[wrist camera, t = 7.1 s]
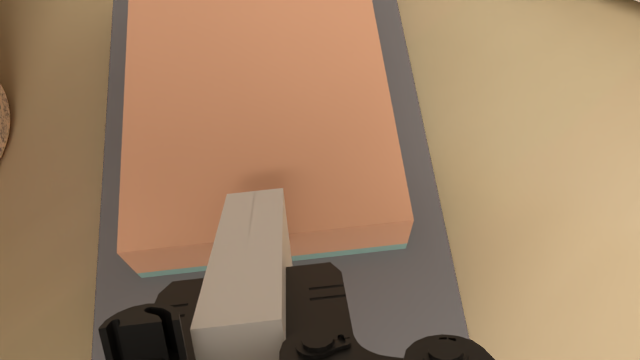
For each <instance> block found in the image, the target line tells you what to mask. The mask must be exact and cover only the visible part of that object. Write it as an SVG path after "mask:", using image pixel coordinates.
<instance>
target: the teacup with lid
mask: <svg viewBox="0 0 640 360" xmlns="http://www.w3.org/2000/svg"><path fill="white" fill-rule="evenodd" d="M9 129H10V110H9V104H8V100H7V97H6V94H5V91H4V89H3V88H2V86H1V84H0V159H1V156H2V154H3V152H4V149H5V146H6V143H7V139H8V136H9Z"/></svg>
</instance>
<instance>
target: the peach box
mask: <svg viewBox="0 0 640 360" xmlns="http://www.w3.org/2000/svg"><path fill="white" fill-rule="evenodd" d="M277 188H283V192H284V200H285V208H286V216H287V225H288V233H289V241H290V249H291V257H292V261H298V260H307V259H316V258H325V257H334V256H343V255H352V254H361V253H370V252H379V251H388V250H397V249H406V246H407V243H408V239H409V236H410V232H411V229H412V225H413V222H414V218H413V213H412V207H411V202H410V197H409V192H408V187H407V181H406V176H405V171H404V166H403V160H402V155H401V150H400V145H399V139H398V134H397V129H396V124H395V118H394V113H393V108H392V103H391V97H390V92H389V87H388V82H387V76H386V71H385V66H384V61H383V55H382V50H381V45H380V40H379V35H378V29H377V24H376V19H375V14H374V8H373V3H372V0H128V20H127V41H126V63H125V85H124V106H123V128H122V150H121V171H120V193H119V215H118V236H117V254H118V255H119V256H120V257H121V258H122V259H123V260H124V261H125V262H126V263H127V264H128V265H129V266H130V267H131V268H132V269H133V270H134V271H135V272H136V273H137V274H138V275H139V276H140V277H141V278H146V277H155V276H164V275H173V274H181V273H190V272H199V271H206V269H207V265H208V262H209V258H210V254H211V251H212V247H213V243H214V240H215V236H216V232H217V229H218V225H219V221H220V218H221V214H222V210H223V207H224V203H225V199H226V196H227V194H232V193H241V192H250V191H259V190H268V189H277Z"/></svg>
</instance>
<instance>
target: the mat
mask: <svg viewBox="0 0 640 360" xmlns="http://www.w3.org/2000/svg"><path fill="white" fill-rule="evenodd" d="M372 3H373V8H374V14H375V19H376V24H377V29H378V35H379V40H380V45H381V50H382V55H383V61H384V66H385V71H386V76H387V82H388V87H389V92H390V97H391V103H392V108H393V113H394V118H395V124H396V129H397V134H398V139H399V145H400V150H401V155H402V160H403V166H404V171H405V176H406V181H407V187H408V192H409V197H410V202H411V207H412V213H413V218H414V222H413V225H412V229H411V232H410V236H409V239H408V243H407V246H406V249H397V250H388V251H379V252H370V253H361V254H352V255H343V256H334V257H325V258H316V259H307V260H298V261H292V265H293V266H299V265H308V264H317V263H326V262H331V263H332V264H333V265H334V266H335V267H337V268H338V269H339V270H340V271H341V272H342V277H343V282H344V288H345V293H346V298H347V303H348V308H349V314H350V319H351V324H352V329H353V334H354V337H355V339H356V340H357V342H358V343H359V344H360V345H361V346H362V347H364V348H365V349H367V350H369V351H371V352H373V353H376V354H379V355H384V356H390V357H399V358H404V355H405V351H406V349H407V348H408V347H409V346H410V345H411V344H412V343H413V342H415V341H417V340H420V339H422V338H424V337H427V336H433V335H441V334H444V335H456V336H460V337H464V338H467V339H469V335H468V330H467V325H466V321H465V316H464V311H463V307H462V302H461V297H460V293H459V288H458V283H457V279H456V274H455V269H454V265H453V260H452V255H451V251H450V246H449V242H448V237H447V232H446V228H445V223H444V218H443V214H442V209H441V204H440V200H439V195H438V190H437V186H436V181H435V176H434V172H433V167H432V162H431V158H430V153H429V148H428V144H427V139H426V134H425V130H424V125H423V121H422V116H421V111H420V107H419V102H418V97H417V93H416V88H415V83H414V79H413V74H412V69H411V65H410V60H409V55H408V51H407V46H406V41H405V37H404V32H403V27H402V23H401V18H400V13H399V9H398V4H397V0H372ZM127 20H128V0H113V14H112V31H111V47H110V64H109V80H108V96H107V113H106V129H105V146H104V162H103V179H102V195H101V212H100V228H99V244H98V261H97V277H96V294H95V310H94V327H93V343H92V359H91V360H106V359H105V355H104V351H103V347H102V343H101V339H100V335H99V331H98V328H99V327H100V326H101V325H102V324H103V322H104V321H105V320H106V319H108V318H110V317H111V316H113V315H114V314H116V313H117V312H120V311H122V310H125V309H127V308H130V307H133V306H138V305H143V304H147V303H155V301H156V298H157V296H158V294H159V293H160V292H161V291H162V290H163V289H164V288H166V287H167V286H168V285H169V284H170V283H171V282H172V281H180V280H189V279H198V278H204V276H205V273H206V271H199V272H190V273H181V274H173V275H164V276H155V277H146V278H141V277H140V276H139V275H138V274H137V273H136V272H135V271H134V270H133V269H132V268H131V267H130V266H129V265H128V264H127V263H126V262H125V261H124V260H123V259H122V258H121V257H120V256H119V255H118V254H117V236H118V215H119V193H120V171H121V150H122V128H123V106H124V85H125V63H126V41H127Z"/></svg>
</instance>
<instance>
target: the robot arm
mask: <svg viewBox="0 0 640 360" xmlns="http://www.w3.org/2000/svg"><path fill="white" fill-rule="evenodd" d="M98 331H99V335H100V339H101V343H102V347H103V351H104V355H105V359H106V360H495V359H494V358H493V357H492V356H491V355H490V354H489V353H488V352H487V351H486V350H485V349H484V348H483V347H481V346H480V345H478V344H477V343H475V342H474V341H472V340H470V339H467V338H464V337H460V336H456V335H444V334H441V335H433V336H427V337H424V338H422V339H420V340H417V341H415V342H413V343H412V344H411V345H410V346H409V347H408V348H407V349H406V351H405V355H404V358H399V357H390V356H384V355H379V354H376V353H373V352H371V351H369V350H367V349H365V348H364V347H362V346H361V345H360V344H359V343H358V342H357V340H356V339H355V337H354V334H353V329H352V324H351V319H350V314H349V308H348V303H347V298H346V293H345V288H344V282H343V277H342V272H341V271H340V270H339V269H338V268H337V267H335V266H334V265H333V264H332V263H331V262H326V263H317V264H308V265H299V266H293V265H292V257H291V249H290V241H289V233H288V225H287V216H286V208H285V200H284V192H283V188H277V189H268V190H259V191H250V192H241V193H232V194H227V196H226V199H225V203H224V207H223V210H222V214H221V218H220V221H219V225H218V229H217V232H216V236H215V240H214V243H213V247H212V251H211V254H210V258H209V262H208V265H207V269H206V273H205V276H204V278H198V279H189V280H180V281H172V282H171V283H170V284H169V285H168V286H167V287H166V288H164V289H163V290H162V291H161V292H160V293H159V294H158V296H157V298H156V301H155V303H147V304H143V305H138V306H133V307H130V308H127V309H125V310H122V311H120V312H117V313H116V314H114V315H113V316H111V317H110V318H108V319H106V320H105V321H104V322H103V324H102V325H101V326H100V327H99V328H98Z"/></svg>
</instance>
